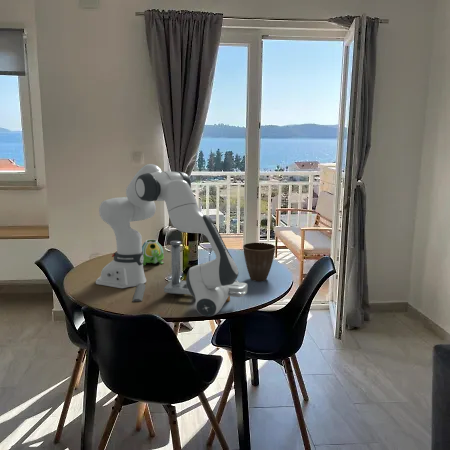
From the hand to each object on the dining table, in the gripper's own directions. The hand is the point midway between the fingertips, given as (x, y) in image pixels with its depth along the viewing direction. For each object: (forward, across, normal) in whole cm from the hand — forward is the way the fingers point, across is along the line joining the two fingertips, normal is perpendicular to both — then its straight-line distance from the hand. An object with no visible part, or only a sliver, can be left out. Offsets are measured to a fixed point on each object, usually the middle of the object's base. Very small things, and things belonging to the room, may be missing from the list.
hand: (225, 281), depth 177 cm
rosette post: (+1, +18, +8) cm, 20 cm away
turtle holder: (+44, +49, +8) cm, 66 cm away
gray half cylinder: (-1, +37, +9) cm, 38 cm away
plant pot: (+31, -9, +8) cm, 33 cm away
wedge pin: (0, 0, +8) cm, 8 cm away
